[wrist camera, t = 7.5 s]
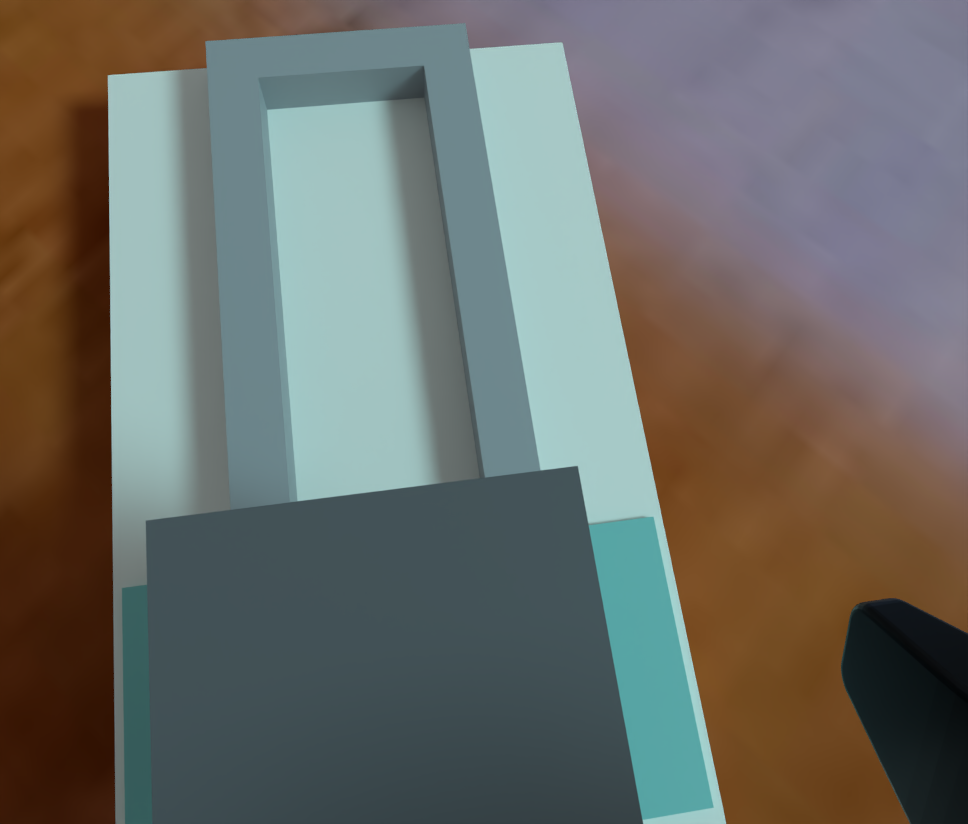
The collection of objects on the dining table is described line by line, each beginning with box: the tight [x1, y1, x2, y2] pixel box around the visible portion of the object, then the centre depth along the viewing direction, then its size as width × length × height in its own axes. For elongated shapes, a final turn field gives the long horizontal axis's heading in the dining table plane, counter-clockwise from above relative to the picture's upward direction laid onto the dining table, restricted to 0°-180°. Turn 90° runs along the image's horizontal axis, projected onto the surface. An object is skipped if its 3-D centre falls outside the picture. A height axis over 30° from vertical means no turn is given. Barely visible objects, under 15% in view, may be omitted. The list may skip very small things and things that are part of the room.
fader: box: [146, 466, 643, 824], centre depth 10 cm, size 4×4×8 cm
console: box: [108, 23, 726, 824], centre depth 14 cm, size 28×10×2 cm, turn 8°
